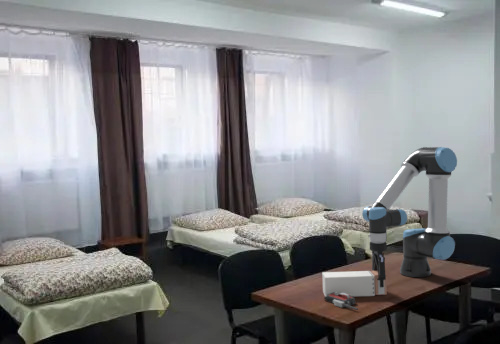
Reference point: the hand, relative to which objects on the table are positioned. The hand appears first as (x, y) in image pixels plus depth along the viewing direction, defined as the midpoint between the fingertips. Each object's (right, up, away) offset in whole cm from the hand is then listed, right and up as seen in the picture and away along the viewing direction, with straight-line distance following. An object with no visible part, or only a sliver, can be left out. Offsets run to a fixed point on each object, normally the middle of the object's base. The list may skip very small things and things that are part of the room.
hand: (378, 290), depth 235 cm
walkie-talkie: (-18, -3, -14) cm, 23 cm away
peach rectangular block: (0, -1, 0) cm, 1 cm away
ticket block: (-14, -1, 0) cm, 14 cm away
